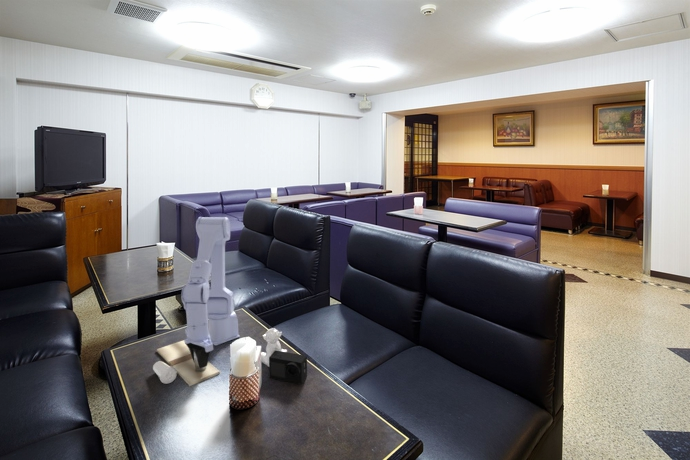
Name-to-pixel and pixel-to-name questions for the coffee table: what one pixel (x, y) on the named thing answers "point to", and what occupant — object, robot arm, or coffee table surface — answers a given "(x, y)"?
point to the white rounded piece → (165, 372)
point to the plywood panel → (185, 363)
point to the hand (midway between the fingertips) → (200, 364)
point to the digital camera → (288, 367)
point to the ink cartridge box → (258, 363)
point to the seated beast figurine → (271, 344)
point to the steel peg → (197, 364)
